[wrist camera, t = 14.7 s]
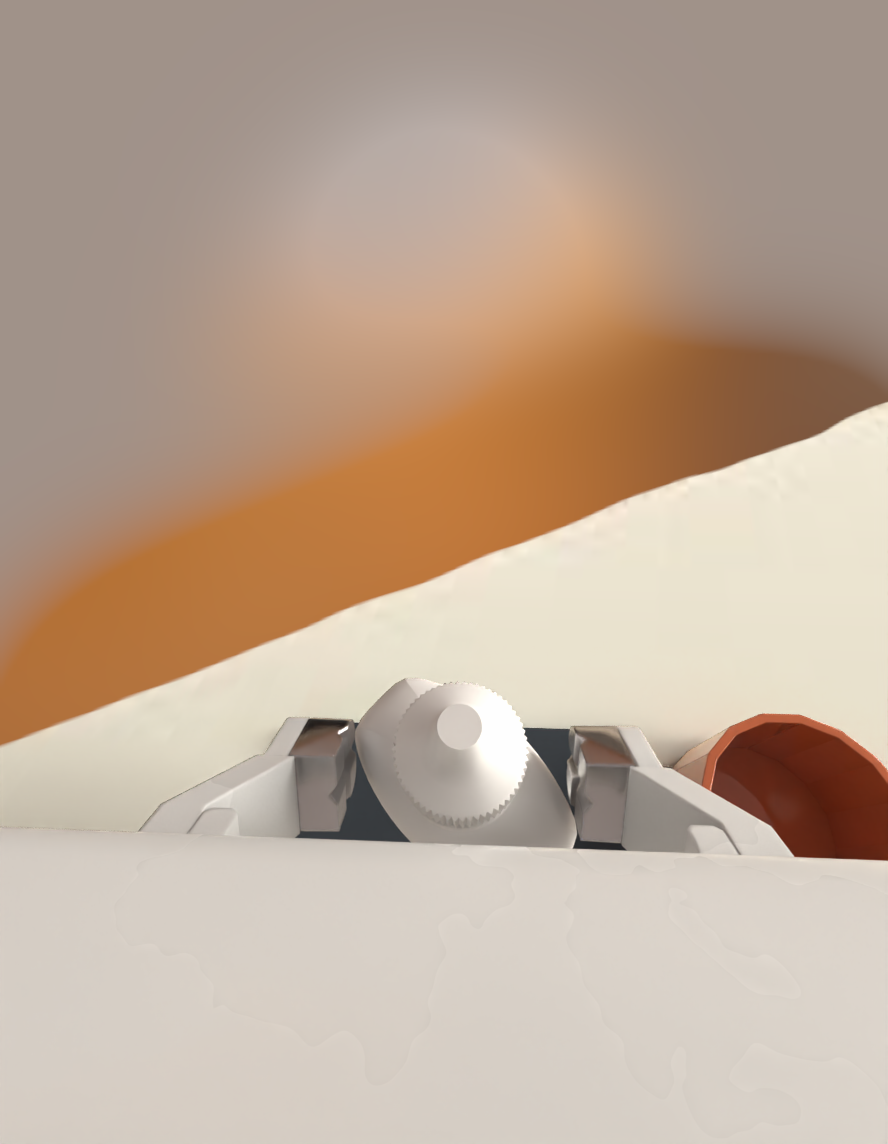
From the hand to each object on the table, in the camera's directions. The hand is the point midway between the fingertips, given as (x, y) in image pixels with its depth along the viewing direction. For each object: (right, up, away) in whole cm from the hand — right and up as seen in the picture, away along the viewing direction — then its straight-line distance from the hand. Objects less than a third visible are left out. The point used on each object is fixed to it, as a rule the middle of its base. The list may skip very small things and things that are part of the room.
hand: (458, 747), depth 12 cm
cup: (+16, -10, +17) cm, 25 cm away
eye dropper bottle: (0, -4, +6) cm, 8 cm away
